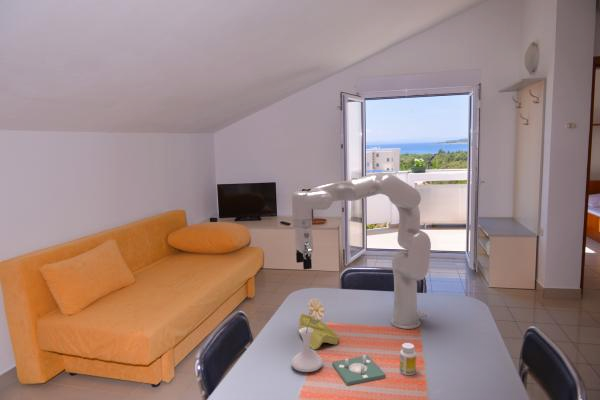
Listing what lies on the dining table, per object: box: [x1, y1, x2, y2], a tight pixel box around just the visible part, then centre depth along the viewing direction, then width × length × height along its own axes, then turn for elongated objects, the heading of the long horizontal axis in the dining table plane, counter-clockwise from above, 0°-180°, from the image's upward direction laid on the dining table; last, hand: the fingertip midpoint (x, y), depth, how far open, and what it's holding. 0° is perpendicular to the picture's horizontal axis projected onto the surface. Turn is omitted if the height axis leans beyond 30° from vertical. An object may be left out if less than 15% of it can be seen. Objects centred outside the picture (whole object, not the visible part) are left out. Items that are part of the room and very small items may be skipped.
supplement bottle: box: [399, 342, 417, 376], centre depth 150 cm, size 5×5×10 cm
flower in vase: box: [290, 297, 326, 373], centre depth 155 cm, size 13×11×25 cm
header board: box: [331, 354, 387, 386], centre depth 152 cm, size 14×14×4 cm
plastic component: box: [298, 313, 340, 350], centre depth 179 cm, size 20×7×10 cm
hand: (303, 265), depth 173 cm, fingers open, 9 cm apart
